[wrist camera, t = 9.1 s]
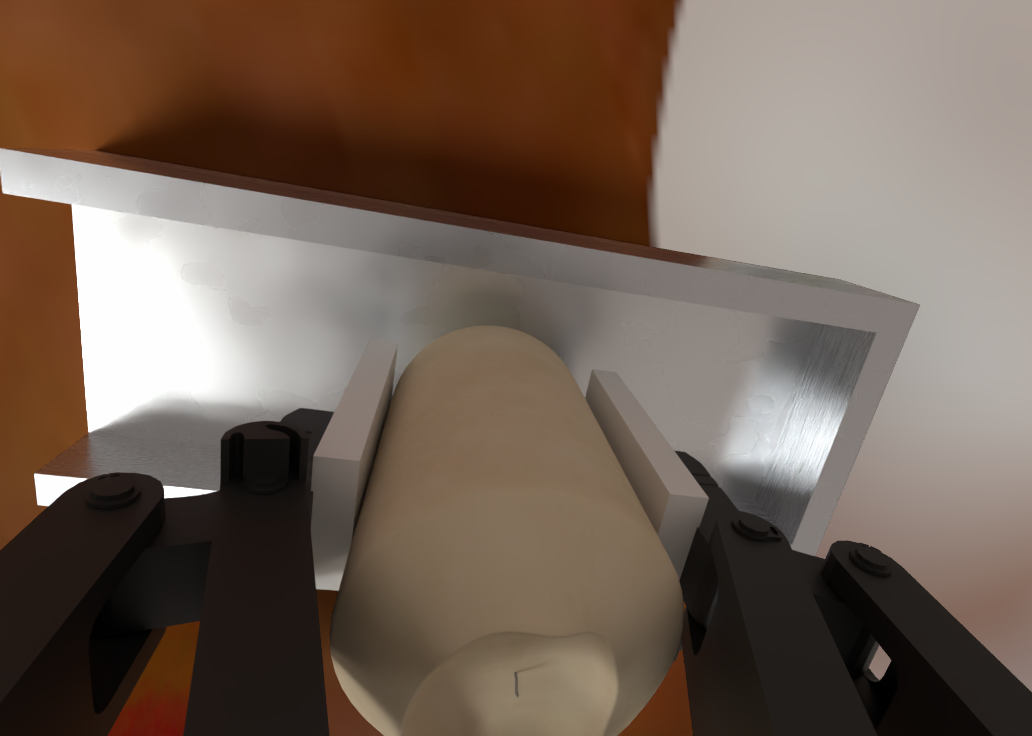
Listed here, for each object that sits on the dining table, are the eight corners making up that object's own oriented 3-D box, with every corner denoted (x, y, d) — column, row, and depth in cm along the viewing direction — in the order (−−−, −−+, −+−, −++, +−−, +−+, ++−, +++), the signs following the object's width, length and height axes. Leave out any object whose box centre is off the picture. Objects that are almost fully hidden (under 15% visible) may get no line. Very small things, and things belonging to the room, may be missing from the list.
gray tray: (111, 443, 19) (37, 504, 16) (94, 150, 16) (-3, 147, 13) (756, 509, 23) (808, 571, 20) (839, 279, 20) (920, 304, 17)
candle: (586, 478, 18) (725, 824, 9) (410, 506, 18) (358, 896, 8) (569, 308, 16) (727, 520, 7) (372, 337, 16) (248, 600, 6)
